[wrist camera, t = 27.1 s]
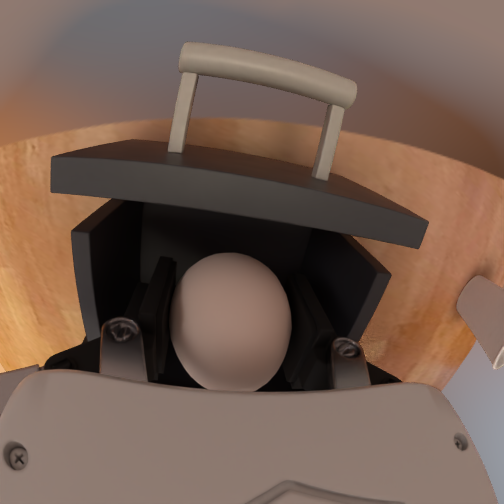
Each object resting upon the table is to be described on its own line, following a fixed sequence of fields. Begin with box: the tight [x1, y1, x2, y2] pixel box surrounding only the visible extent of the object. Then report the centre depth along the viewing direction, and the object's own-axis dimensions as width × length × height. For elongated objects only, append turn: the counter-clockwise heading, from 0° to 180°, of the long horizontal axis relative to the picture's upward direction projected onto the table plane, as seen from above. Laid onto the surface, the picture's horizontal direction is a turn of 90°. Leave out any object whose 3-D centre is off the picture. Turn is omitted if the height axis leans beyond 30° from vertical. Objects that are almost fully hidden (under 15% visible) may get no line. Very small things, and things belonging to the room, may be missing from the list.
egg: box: [169, 253, 292, 392], centre depth 10 cm, size 5×5×7 cm
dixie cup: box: [456, 275, 504, 370], centre depth 21 cm, size 8×8×10 cm
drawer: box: [51, 42, 429, 392], centre depth 13 cm, size 16×13×9 cm
